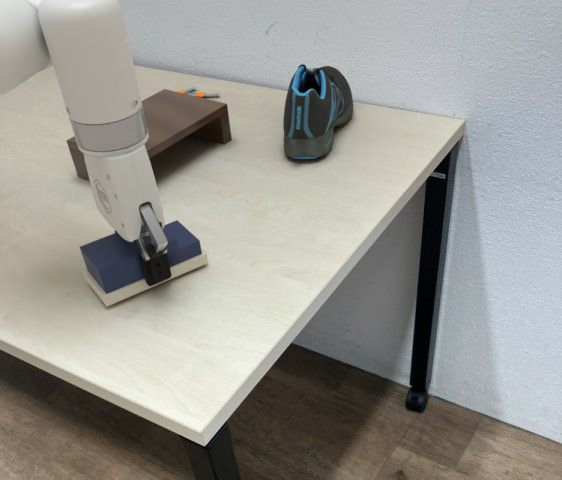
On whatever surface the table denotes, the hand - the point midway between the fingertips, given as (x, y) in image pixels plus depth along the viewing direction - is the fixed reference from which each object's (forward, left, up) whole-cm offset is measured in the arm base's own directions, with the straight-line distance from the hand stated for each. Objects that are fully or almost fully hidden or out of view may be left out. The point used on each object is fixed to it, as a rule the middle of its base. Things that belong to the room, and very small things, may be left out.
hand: (146, 266), depth 76 cm
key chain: (-34, +44, -1) cm, 56 cm away
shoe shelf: (-22, +24, -1) cm, 32 cm away
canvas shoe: (0, 0, -1) cm, 1 cm away
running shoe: (-4, +46, -2) cm, 46 cm away
